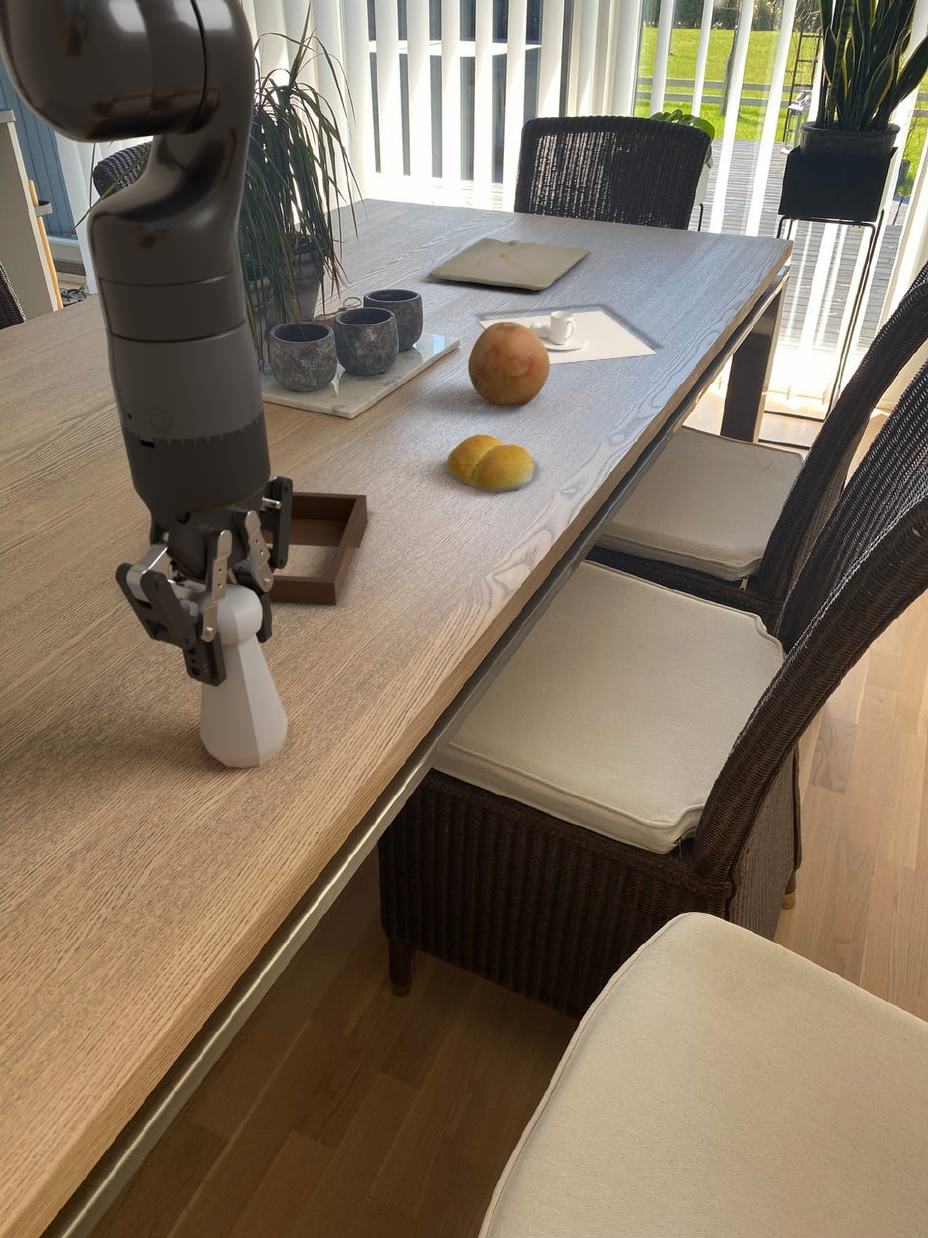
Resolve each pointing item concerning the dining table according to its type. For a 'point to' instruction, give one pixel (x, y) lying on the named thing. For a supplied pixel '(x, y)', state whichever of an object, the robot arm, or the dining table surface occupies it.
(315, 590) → the tray
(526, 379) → the onion
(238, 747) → the salt shaker
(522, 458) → the bread roll
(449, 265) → the decorative slab
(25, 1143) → the dining table surface
